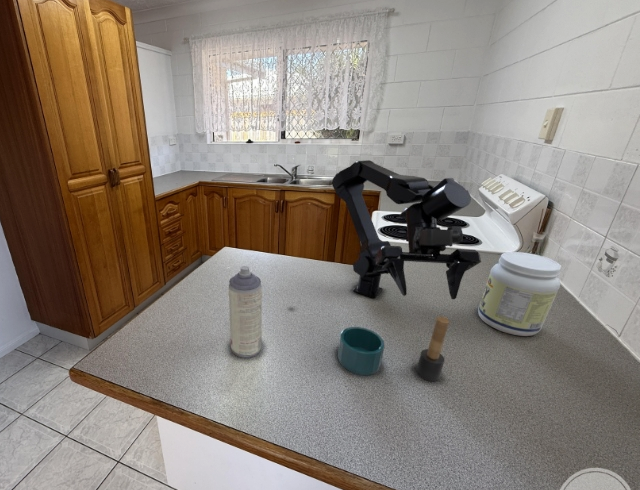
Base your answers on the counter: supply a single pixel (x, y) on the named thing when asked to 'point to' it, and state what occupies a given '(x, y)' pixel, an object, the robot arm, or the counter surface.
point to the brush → (433, 353)
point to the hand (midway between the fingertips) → (429, 297)
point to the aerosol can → (245, 313)
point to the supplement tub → (520, 293)
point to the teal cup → (360, 350)
